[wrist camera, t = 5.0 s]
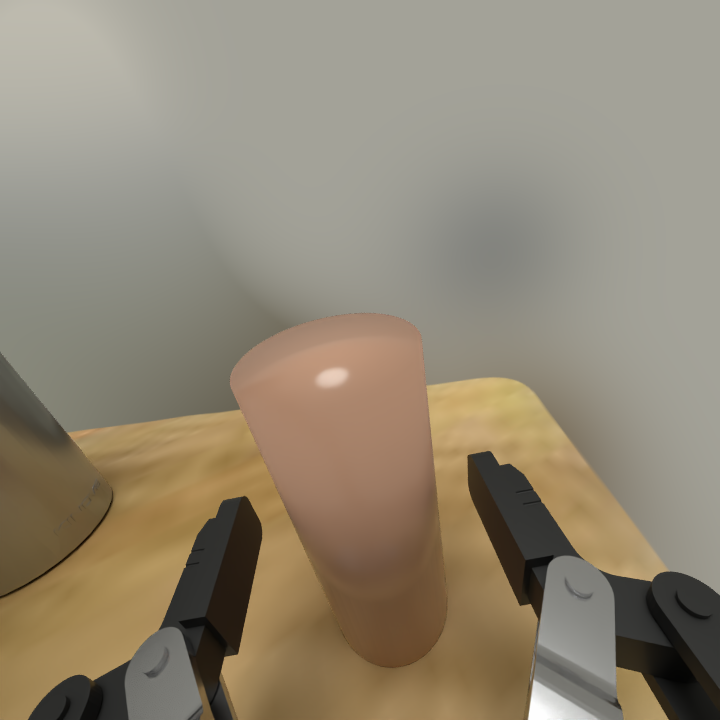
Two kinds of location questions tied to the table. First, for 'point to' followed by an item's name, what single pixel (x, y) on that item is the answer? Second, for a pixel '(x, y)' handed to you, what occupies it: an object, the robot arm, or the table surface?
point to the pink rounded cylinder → (355, 472)
